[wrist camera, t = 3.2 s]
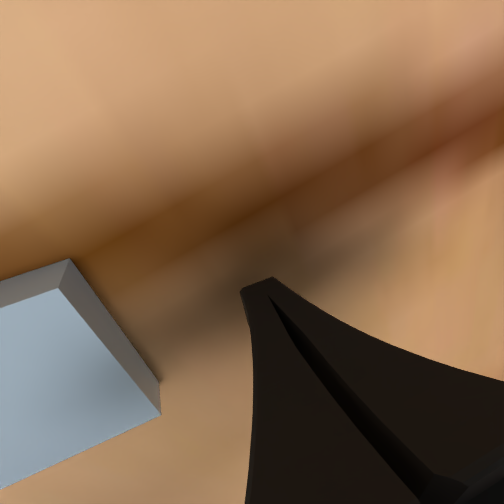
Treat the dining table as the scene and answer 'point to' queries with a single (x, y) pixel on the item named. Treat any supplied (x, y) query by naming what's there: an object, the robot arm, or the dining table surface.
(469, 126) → the dining table surface
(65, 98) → the dining table surface
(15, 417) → the lid
